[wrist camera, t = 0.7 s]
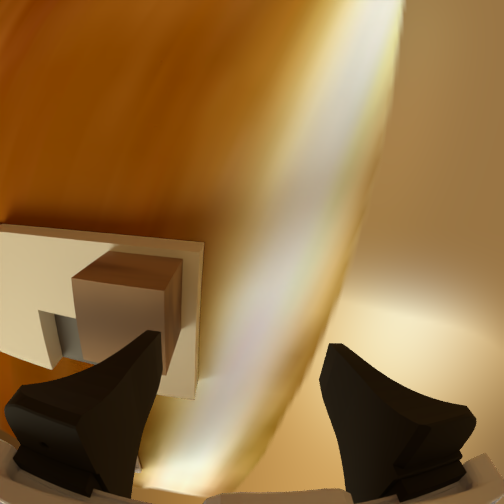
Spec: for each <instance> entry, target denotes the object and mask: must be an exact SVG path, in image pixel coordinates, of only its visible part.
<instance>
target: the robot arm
mask: <svg viewBox="0 0 504 504" xmlns="http://www.w3.org/2000/svg"><path fill="white" fill-rule="evenodd" d="M162 372H163V362H162V344H161V332H160V331H153V330H146V331H145V332H144V333H142V334H141V335H140V336H138V337H137V338H136V339H134V340H133V341H132V342H130V343H129V344H128V345H126V346H125V347H124V348H122V349H121V350H119V351H118V352H116V353H115V354H113V355H111V356H110V357H108V358H107V359H105V360H104V361H102V362H100V363H98V364H96V365H94V366H92V367H90V368H88V369H86V370H83V371H81V372H78V373H75V374H73V375H70V376H67V377H64V378H61V379H57V380H53V381H48V382H43V383H37V384H29V385H22V386H21V387H20V388H19V389H18V390H17V392H16V393H15V394H14V395H13V397H12V398H11V399H10V401H9V402H8V403H7V404H6V406H5V409H4V411H5V417H6V419H7V421H8V424H9V425H10V427H11V429H12V431H13V432H14V434H15V436H16V437H17V439H18V441H19V442H20V444H21V445H20V447H19V449H18V450H16V449H15V448H14V447H13V446H12V445H10V444H9V443H7V442H5V441H3V440H1V439H0V504H152V503H147V502H141V501H137V500H132V499H131V493H132V485H133V478H134V472H137V473H141V471H142V469H141V466H140V462H139V459H138V450H139V445H140V441H141V436H142V433H143V429H144V426H145V423H146V421H147V418H148V415H149V413H150V410H151V407H152V405H153V402H154V399H155V397H156V394H157V391H158V389H159V385H160V381H161V376H162ZM319 382H320V387H321V392H322V397H323V400H324V403H325V406H326V409H327V412H328V415H329V418H330V420H331V423H332V426H333V429H334V431H335V434H336V438H337V441H338V445H339V450H340V455H341V460H342V466H343V472H344V479H345V486H346V491H344V490H342V489H318V490H307V491H293V492H267V493H250V492H249V493H248V492H238V493H222V494H219V495H216V496H212V497H209V498H207V499H206V500H205V501H204V503H203V504H496V503H497V502H498V501H499V500H500V499H501V498H502V497H503V496H504V479H503V477H502V476H501V474H500V473H499V471H498V470H497V468H496V467H495V465H494V464H493V462H492V461H491V460H490V458H489V457H488V455H487V454H486V453H483V454H481V455H479V456H477V457H475V458H473V459H470V460H468V461H467V462H465V463H464V464H463V465H462V463H461V462H460V459H461V458H462V454H461V452H460V451H459V450H460V449H461V448H462V446H463V445H464V443H465V442H466V441H467V440H468V438H469V437H470V435H471V434H472V432H473V430H474V428H475V426H476V418H475V417H474V415H473V414H472V413H471V411H470V410H469V409H468V407H467V406H464V405H458V404H452V403H448V402H443V401H440V400H437V399H433V398H430V397H428V396H424V395H422V394H420V393H417V392H415V391H412V390H410V389H408V388H406V387H404V386H402V385H401V384H399V383H397V382H395V381H393V380H392V379H390V378H388V377H387V376H385V375H384V374H382V373H381V372H379V371H378V370H376V369H375V368H374V367H372V366H371V365H370V364H368V363H367V362H366V361H364V360H363V359H362V358H361V357H359V356H358V355H357V354H355V353H354V352H353V351H352V350H350V349H349V348H348V347H346V346H345V345H343V344H336V343H335V344H333V343H329V346H328V349H327V353H326V357H325V360H324V364H323V368H322V371H321V375H320V378H319Z"/></svg>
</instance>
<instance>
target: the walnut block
mask: <svg viewBox="0 0 504 504" xmlns="http://www.w3.org/2000/svg"><path fill="white" fill-rule="evenodd" d="M182 272H183V259H181V258H171V257H162V256H152V255H143V254H133V253H124V252H115V251H108V252H106V253H105V254H103V255H102V256H100V257H99V258H98V259H96V260H95V261H93V262H92V263H91V264H89V265H88V266H86V267H85V268H84V269H82V270H81V271H80V272H78V273H77V274H76V275H74V276H73V277H72V278H71V281H72V291H73V299H74V307H75V314H76V321H77V327H78V333H79V339H80V344H81V349H82V354H83V359H84V360H88V361H92V362H96V363H100V362H102V361H104V360H105V359H107V358H108V357H110V356H111V355H113V354H115V353H116V352H118V351H119V350H121V349H122V348H124V347H125V346H126V345H128V344H129V343H130V342H132V341H133V340H134V339H136V338H137V337H138V336H140V335H141V334H142V333H144V332H145V331H146V330H153V331H160V332H161V344H162V362H163V372H162V375H165V376H166V375H167V372H168V369H169V365H170V362H171V359H172V356H173V353H174V350H175V347H176V344H177V341H178V338H179V335H180V332H181V303H182Z"/></svg>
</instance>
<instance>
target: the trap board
mask: <svg viewBox="0 0 504 504" xmlns="http://www.w3.org/2000/svg"><path fill="white" fill-rule="evenodd" d="M108 251H115V252H124V253H133V254H143V255H152V256H162V257H171V258H181V259H183V272H182V303H181V332H180V335H179V338H178V341H177V344H176V347H175V350H174V353H173V356H172V359H171V362H170V365H169V369H168V372H167V375H166V376H165V375H162V376H161V381H160V385H159V389H158V391H157V394H156V395H163V396H169V397H176V398H183V399H191V400H195V394H196V388H197V382H198V353H199V325H200V304H201V286H202V269H203V254H204V242H195V241H185V240H174V239H164V238H154V237H143V236H132V235H122V234H111V233H100V232H90V231H79V230H68V229H57V228H46V227H34V226H23V225H12V224H0V351H1V352H4V353H6V354H9V355H11V356H14V357H17V358H19V359H22V360H25V361H28V362H30V363H33V364H36V365H39V366H42V367H45V368H48V369H51V370H52V369H53V368H54V367H55V366H56V364H57V363H58V362H59V361H60V359H61V358H62V357H67V358H71V359H75V360H79V361H82V362H86V363H91V364H95V365H96V364H98V363H96V362H92V361H88V360H84V359H83V354H82V349H81V344H80V339H79V333H78V327H77V321H76V314H75V307H74V299H73V291H72V281H71V278H72V277H73V276H74V275H76V274H77V273H78V272H80V271H81V270H82V269H84V268H85V267H86V266H88V265H89V264H91V263H92V262H93V261H95V260H96V259H98V258H99V257H100V256H102V255H103V254H105V253H106V252H108Z"/></svg>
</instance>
